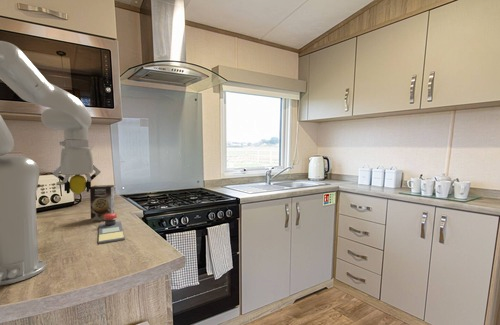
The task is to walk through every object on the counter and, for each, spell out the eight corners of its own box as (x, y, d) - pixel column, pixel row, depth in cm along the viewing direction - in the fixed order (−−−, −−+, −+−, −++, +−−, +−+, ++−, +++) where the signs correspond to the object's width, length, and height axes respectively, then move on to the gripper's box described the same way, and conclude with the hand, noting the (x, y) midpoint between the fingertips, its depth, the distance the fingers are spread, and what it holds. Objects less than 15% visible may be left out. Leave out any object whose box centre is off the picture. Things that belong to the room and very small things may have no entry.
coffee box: (90, 221, 117) (89, 187, 117) (94, 217, 124) (93, 185, 123) (111, 219, 120) (110, 186, 119) (115, 216, 126) (114, 184, 125)
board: (124, 239, 92) (124, 233, 92) (98, 244, 88) (97, 237, 88) (120, 222, 115) (120, 217, 115) (99, 225, 111) (99, 220, 110)
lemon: (78, 196, 93) (77, 174, 92) (65, 195, 94) (64, 174, 93) (90, 193, 98) (89, 173, 98) (78, 193, 99) (77, 173, 99)
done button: (116, 218, 109) (116, 215, 108) (103, 220, 106) (103, 216, 106) (116, 216, 113) (116, 212, 113) (103, 217, 110) (103, 214, 110)
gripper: (46, 144, 88) (47, 195, 88) (102, 144, 96) (104, 191, 97) (49, 145, 94) (51, 192, 95) (102, 145, 103) (104, 189, 103)
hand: (78, 191), depth 96 cm, fingers closed on lemon, 5 cm apart
